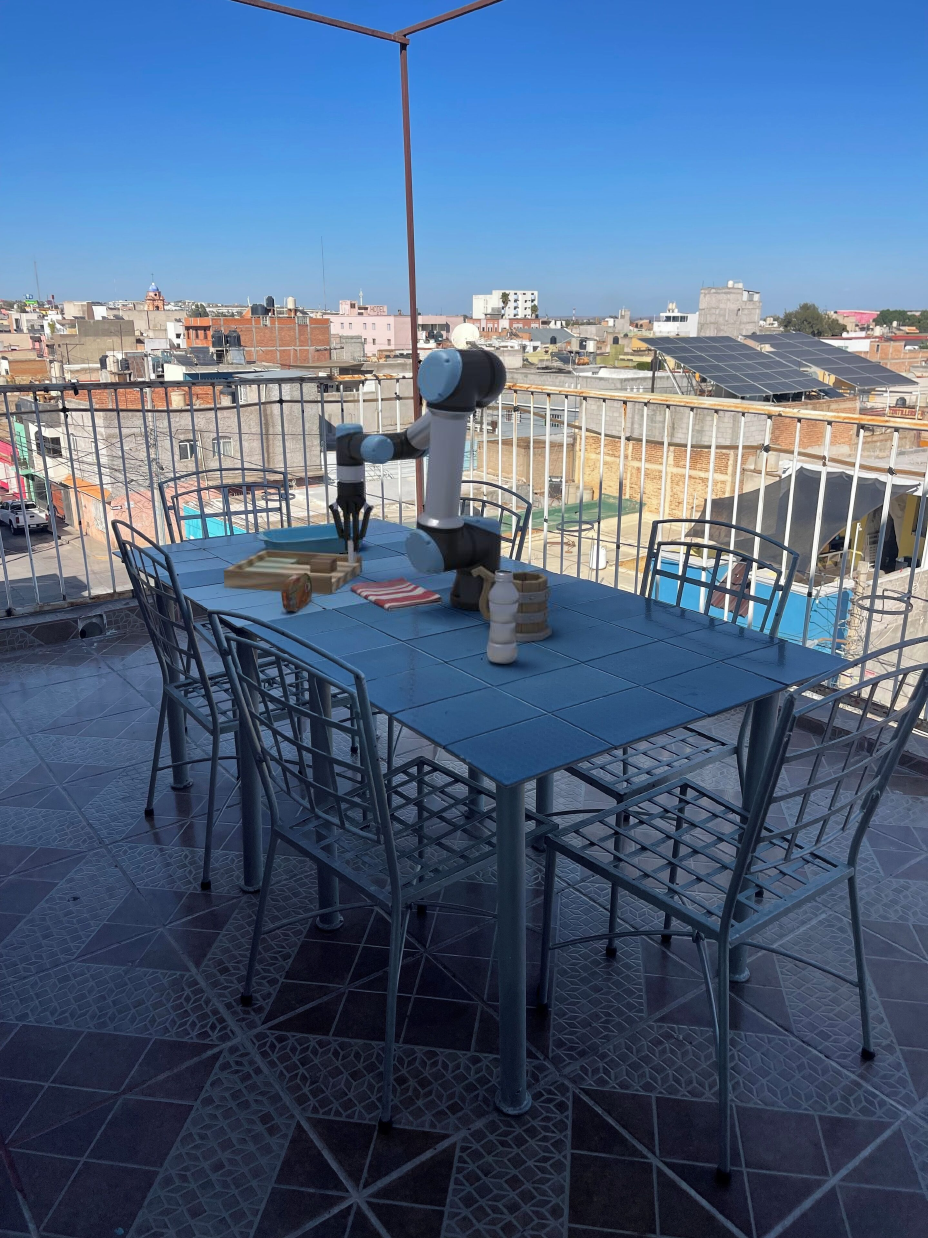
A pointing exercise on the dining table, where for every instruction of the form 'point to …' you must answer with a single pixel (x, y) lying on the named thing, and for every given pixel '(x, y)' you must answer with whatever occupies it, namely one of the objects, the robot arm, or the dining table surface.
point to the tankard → (522, 603)
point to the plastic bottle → (502, 619)
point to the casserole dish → (306, 539)
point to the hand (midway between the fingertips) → (352, 562)
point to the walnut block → (323, 565)
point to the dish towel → (395, 594)
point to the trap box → (288, 571)
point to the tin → (296, 592)
